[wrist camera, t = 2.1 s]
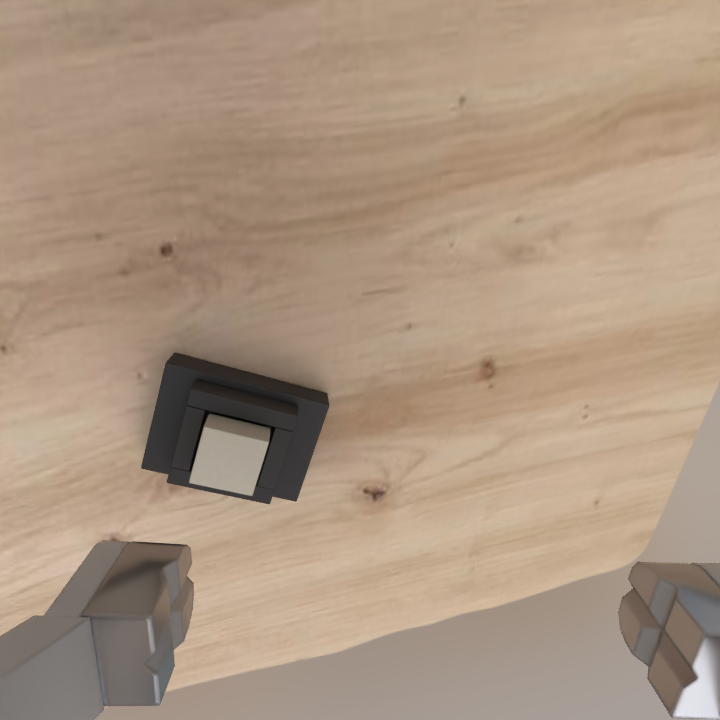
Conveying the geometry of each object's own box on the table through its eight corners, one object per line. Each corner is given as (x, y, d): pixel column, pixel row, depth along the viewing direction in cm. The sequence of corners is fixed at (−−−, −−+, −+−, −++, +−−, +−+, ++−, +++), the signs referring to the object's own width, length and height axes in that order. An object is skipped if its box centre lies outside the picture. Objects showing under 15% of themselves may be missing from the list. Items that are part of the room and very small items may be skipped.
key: (195, 466, 31) (188, 483, 30) (209, 412, 30) (203, 426, 29) (254, 479, 32) (252, 496, 30) (270, 427, 31) (269, 442, 29)
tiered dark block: (150, 453, 35) (131, 483, 31) (173, 352, 33) (158, 371, 29) (296, 485, 37) (296, 517, 33) (327, 393, 35) (331, 416, 31)
